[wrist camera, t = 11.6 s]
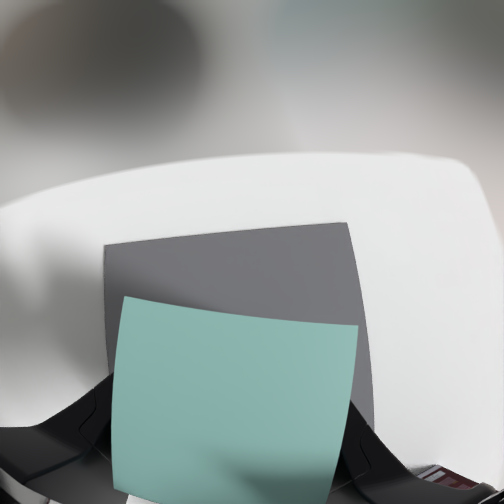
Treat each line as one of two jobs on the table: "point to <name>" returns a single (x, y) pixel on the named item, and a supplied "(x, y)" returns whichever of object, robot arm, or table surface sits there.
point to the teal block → (228, 406)
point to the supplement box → (447, 478)
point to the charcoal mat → (248, 282)
